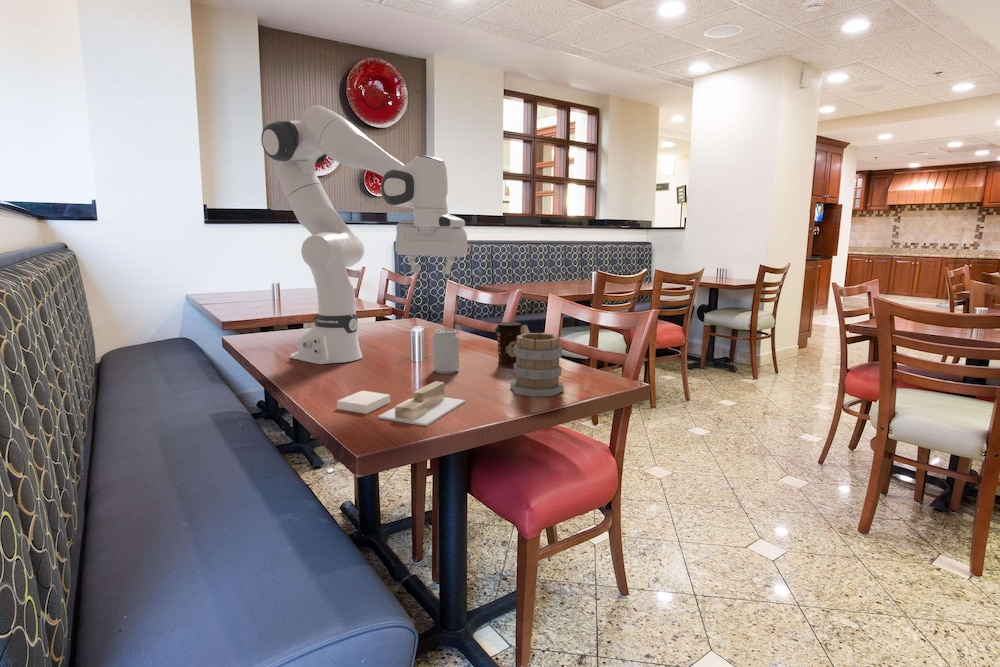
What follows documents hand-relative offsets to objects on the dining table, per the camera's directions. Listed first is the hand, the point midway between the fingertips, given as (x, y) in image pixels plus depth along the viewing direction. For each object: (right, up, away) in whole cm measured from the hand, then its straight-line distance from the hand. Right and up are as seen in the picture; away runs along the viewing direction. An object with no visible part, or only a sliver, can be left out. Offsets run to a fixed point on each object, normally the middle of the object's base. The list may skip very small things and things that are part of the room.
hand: (430, 273), depth 146 cm
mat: (+1, -33, -22) cm, 40 cm away
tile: (-13, -32, -19) cm, 39 cm away
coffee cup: (+21, -26, +20) cm, 39 cm away
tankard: (+27, -30, -1) cm, 40 cm away
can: (+3, -27, +13) cm, 30 cm away
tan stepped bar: (+1, -33, -22) cm, 39 cm away
